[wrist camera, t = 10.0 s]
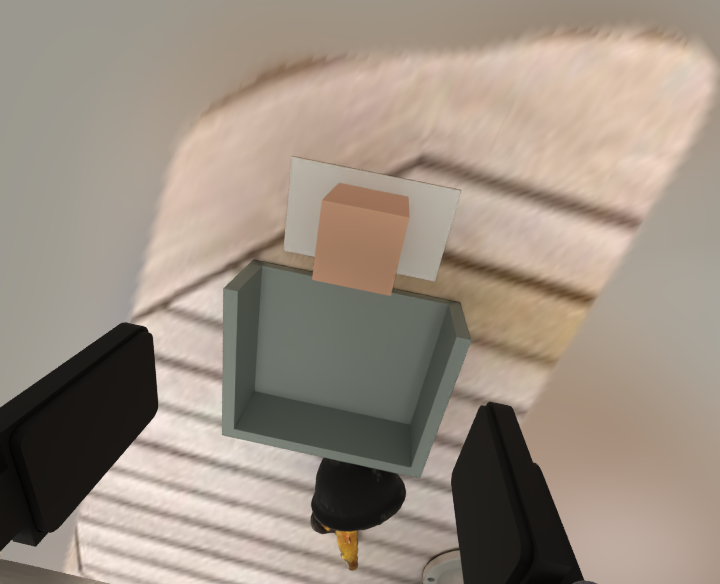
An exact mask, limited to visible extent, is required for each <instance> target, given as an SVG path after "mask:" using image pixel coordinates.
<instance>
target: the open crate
mask: <svg viewBox="0 0 720 584" xmlns="http://www.w3.org/2000/svg"><path fill="white" fill-rule="evenodd" d="M312 275H313V272H309V271H305V270H300V269H295V268H290V267H285V266H281V265H276V264H271V263H266V262H261V261H256V260H253V261H252V262H251V263H250V264H249V265H248V266H247V267H246V268H244V269H243V270H242V271H241V272H240V273H239V274H238V275H237V276H236V277H235V278H234V279H233V280H232V281H231V282H230V283H229V284H228V285H227V286H225V287H224V288H223V387H222V435H224V436H228V437H233V438H237V439H242V440H247V441H251V442H256V443H260V444H265V445H269V446H274V447H279V448H283V449H288V450H292V451H297V452H302V453H306V454H311V455H315V456H320V457H324V458H329V459H334V460H338V461H343V462H347V463H352V464H357V465H361V466H366V467H370V468H375V469H379V470H384V471H389V472H393V473H398V474H402V475H407V476H412V477H416V478H420V477H421V474H422V471H423V469H424V466H425V463H426V461H427V458H428V455H429V453H430V450H431V447H432V444H433V442H434V439H435V436H436V434H437V431H438V428H439V426H440V423H441V420H442V418H443V415H444V412H445V410H446V407H447V404H448V402H449V399H450V396H451V394H452V391H453V388H454V385H455V383H456V380H457V377H458V375H459V372H460V369H461V367H462V364H463V361H464V359H465V356H466V353H467V351H468V348H469V345H470V343H471V337H470V334H469V331H468V327H467V324H466V321H465V317H464V314H463V311H462V307H461V304H460V303H459V302H454V301H450V300H445V299H440V298H435V297H430V296H425V295H421V294H416V293H411V292H406V291H401V290H396V289H392V293H391V296H388V295H383V294H378V293H373V292H369V291H364V290H359V289H354V288H349V287H344V286H339V285H335V284H330V283H325V282H320V281H315V280H312Z"/></svg>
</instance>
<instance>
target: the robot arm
mask: <svg viewBox="0 0 720 584" xmlns="http://www.w3.org/2000/svg"><path fill="white" fill-rule="evenodd" d="M157 410H158V394H157V382H156V369H155V357H154V345H153V336H152V334H151V333H149V332H148V329H147V328H146V327H144V326H140V325H135V324H131V323H126V322H125V323H121V324H119V325H118V326H116V327H115V328H113V329H112V330H110V331H109V332H108V333H106V334H105V335H103V336H102V337H101V338H99V339H98V340H96V341H95V342H93V343H92V344H90V345H89V346H88V347H86V348H85V349H84V350H82V351H80V352H79V353H78V354H76V355H75V356H73V357H72V358H70V359H69V360H68V361H66V362H65V363H63V364H62V365H60V366H59V367H58V368H56V369H55V370H53V371H52V372H51V373H49V374H48V375H46V376H45V377H43V378H42V379H40V380H39V381H38V382H36V383H35V384H33V385H32V386H30V387H29V388H28V389H26V390H25V391H23V392H22V393H20V394H19V395H17V396H16V397H15V398H13V399H12V400H10V401H9V402H7V403H6V404H5V405H3V406H2V407H0V558H1V551H2V549H3V548H4V547H5V546H6V545H7V544H8V543H9V542H10V541H11V540H13V541H14V542H18V543H22V544H27V545H31V546H35V547H36V546H37V545H38V544H39V542H40V541H41V540H42V539H43V538H44V537H45V536H46V535H47V533H48V532H49V533H51V532H54V531H55V530H57V529H58V528H59V527H60V526H61V525H62V524H63V523H64V521H65V520H66V519H67V518H68V517H69V516H70V514H71V513H72V512H73V511H74V510H75V509H76V507H77V506H78V505H79V504H80V503H81V502H82V500H83V499H84V498H85V497H86V496H87V495H88V494H89V492H90V491H91V490H92V489H93V488H94V487H95V485H96V484H97V483H98V482H99V481H100V480H101V478H102V477H103V476H104V475H105V474H106V473H107V471H108V470H109V469H110V468H111V467H112V466H113V464H114V463H115V462H116V461H117V460H118V459H119V457H120V456H121V455H122V454H123V453H124V452H125V450H126V449H127V448H128V447H129V446H130V445H131V443H132V442H133V441H134V440H135V439H136V438H137V436H138V435H139V434H140V433H141V432H142V431H143V430H144V428H145V427H146V426H147V425H148V424H149V423H150V421H151V420H152V419H153V418H154V416H155V415H156V412H157ZM451 486H452V494H453V502H454V510H455V518H456V526H457V534H458V542H459V550H457V551H452V552H448V553H445V554H443V555H440V556H438V557H436V558H435V559H433V560H432V561H431V562H430V563H429V564H428V565H427V566H426V568H425V569H424V571H423V584H596V583H594V582H590V581H584V578H583V576H582V573H581V571H580V568H579V565H578V563H577V560H576V558H575V555H574V553H573V550H572V547H571V545H570V542H569V540H568V537H567V535H566V532H565V529H564V527H563V524H562V522H561V519H560V517H559V514H558V511H557V509H556V507H555V504H554V502H553V499H552V496H551V494H550V491H549V488H548V486H547V484H546V481H545V478H544V476H543V473H542V471H541V469H540V467H539V466H538V465H537V464H536V463H533V461H532V459H531V456H530V453H529V450H528V448H527V445H526V443H525V440H524V437H523V434H522V432H521V429H520V426H519V424H518V421H517V418H516V416H515V413H514V410H513V408H512V407H511V406H508V405H503V404H499V403H494V402H488V403H487V405H486V406H480V407H479V409H478V412H477V414H476V417H475V419H474V421H473V424H472V426H471V429H470V431H469V433H468V436H467V438H466V441H465V443H464V445H463V448H462V450H461V452H460V455H459V457H458V460H457V462H456V464H455V467H454V469H453V472H452V478H451ZM0 584H108V583H104V582H100V581H96V580H91V579H87V578H83V577H78V576H74V575H70V574H65V573H61V572H57V571H53V570H48V569H44V568H40V567H35V566H31V565H27V564H22V563H18V562H13V561H8V560H3V559H0Z"/></svg>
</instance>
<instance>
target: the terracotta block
mask: <svg viewBox="0 0 720 584" xmlns="http://www.w3.org/2000/svg"><path fill="white" fill-rule="evenodd" d="M408 222H409V198H408V196H403V195H398V194H393V193H388V192H383V191H378V190H373V189H368V188H363V187H358V186H353V185H348V184H343V183H338V184H337V185H336V186H335V187H334V188H333V189H332V190H331V191H330V192H329V193H328V194H327V195H326V196H325V197H324V198H323V199H322V204H321V212H320V219H319V227H318V235H317V243H316V251H315V259H314V267H313V275H312V280H315V281H320V282H325V283H330V284H335V285H339V286H344V287H349V288H354V289H359V290H364V291H369V292H373V293H378V294H383V295H388V296H391V293H392V289H393V285H394V280H395V276H396V272H397V268H398V264H399V259H400V255H401V251H402V247H403V243H404V238H405V234H406V230H407V226H408Z"/></svg>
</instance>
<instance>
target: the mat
mask: <svg viewBox="0 0 720 584" xmlns="http://www.w3.org/2000/svg"><path fill="white" fill-rule="evenodd" d="M338 183H343V184H348V185H353V186H358V187H363V188H368V189H373V190H378V191H383V192H388V193H393V194H398V195H403V196H408V198H409V222H408V226H407V230H406V234H405V238H404V243H403V247H402V251H401V255H400V259H399V264H398V268H397V272H396V274H400V275H405V276H410V277H415V278H420V279H424V280H429V281H434V282H435V279H436V276H437V272H438V269H439V265H440V262H441V259H442V255H443V252H444V248H445V245H446V242H447V238H448V235H449V231H450V228H451V225H452V221H453V218H454V214H455V211H456V208H457V204H458V201H459V197H460V194H461V190H458V189H453V188H448V187H443V186H438V185H433V184H428V183H423V182H418V181H413V180H408V179H403V178H398V177H393V176H388V175H383V174H378V173H373V172H368V171H363V170H358V169H353V168H348V167H343V166H338V165H333V164H328V163H323V162H318V161H313V160H308V159H303V158H298V157H292V160H291V172H290V183H289V195H288V206H287V218H286V229H285V240H284V251H289V252H293V253H298V254H303V255H308V256H313V257H315V251H316V243H317V235H318V227H319V219H320V212H321V204H322V199H323V198H324V197H325V196H326V195H327V194H328V193H329V192H330V191H331V190H332V189H333V188H334V187H335V186H336V185H337V184H338Z"/></svg>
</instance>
